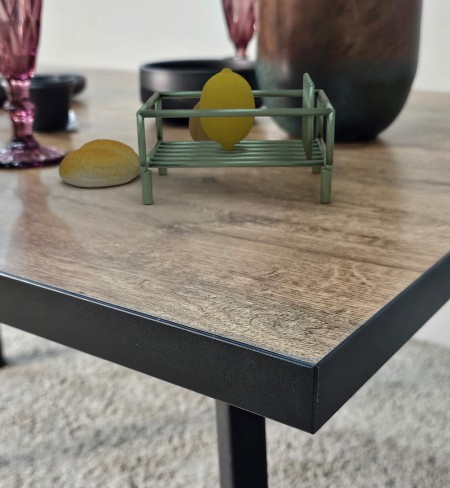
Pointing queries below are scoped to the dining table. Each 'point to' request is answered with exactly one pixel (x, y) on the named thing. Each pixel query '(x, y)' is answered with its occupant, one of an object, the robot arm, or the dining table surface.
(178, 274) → the dining table surface
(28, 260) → the dining table surface
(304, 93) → the dish rack
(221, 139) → the lemon
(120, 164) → the bread roll
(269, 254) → the dining table surface
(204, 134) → the potato
